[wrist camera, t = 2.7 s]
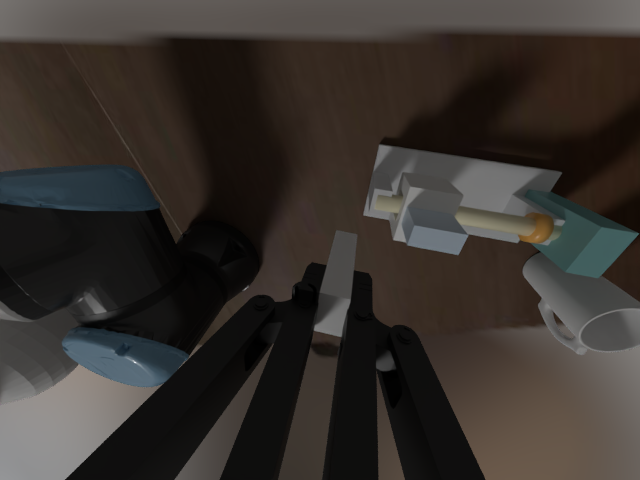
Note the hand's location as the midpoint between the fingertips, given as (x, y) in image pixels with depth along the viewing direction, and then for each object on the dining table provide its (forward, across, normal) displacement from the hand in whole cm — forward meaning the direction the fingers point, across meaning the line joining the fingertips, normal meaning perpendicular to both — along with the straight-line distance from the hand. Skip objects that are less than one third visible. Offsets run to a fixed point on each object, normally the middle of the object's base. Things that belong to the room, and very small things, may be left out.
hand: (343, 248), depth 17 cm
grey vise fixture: (+20, +13, 0) cm, 24 cm away
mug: (+20, +31, -10) cm, 38 cm away
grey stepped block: (+15, +8, 0) cm, 17 cm away
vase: (+19, -56, -39) cm, 71 cm away
